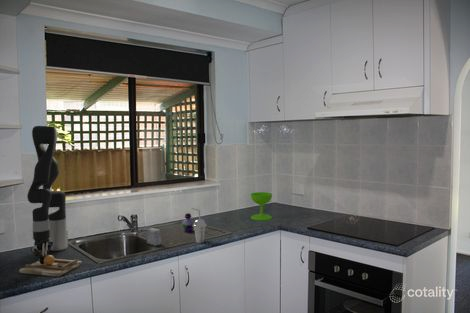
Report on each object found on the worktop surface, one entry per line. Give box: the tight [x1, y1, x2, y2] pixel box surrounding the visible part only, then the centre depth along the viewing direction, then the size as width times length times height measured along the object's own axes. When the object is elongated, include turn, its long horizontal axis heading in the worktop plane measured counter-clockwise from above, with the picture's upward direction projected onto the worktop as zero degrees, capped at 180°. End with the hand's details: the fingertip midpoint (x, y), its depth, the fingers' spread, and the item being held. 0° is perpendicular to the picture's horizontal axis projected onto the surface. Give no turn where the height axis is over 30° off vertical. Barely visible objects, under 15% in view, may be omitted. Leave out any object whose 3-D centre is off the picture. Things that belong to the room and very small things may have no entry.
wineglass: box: [250, 191, 273, 221], centre depth 293 cm, size 16×16×18 cm
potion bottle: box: [181, 212, 195, 233], centre depth 256 cm, size 9×9×12 cm
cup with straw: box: [191, 207, 208, 244], centre depth 233 cm, size 8×9×20 cm
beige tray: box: [19, 258, 83, 277], centre depth 192 cm, size 17×22×4 cm
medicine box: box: [146, 227, 162, 246], centre depth 230 cm, size 8×4×9 cm, turn 48°
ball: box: [44, 254, 56, 265], centre depth 192 cm, size 5×5×5 cm
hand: (43, 263), depth 193 cm, fingers closed
